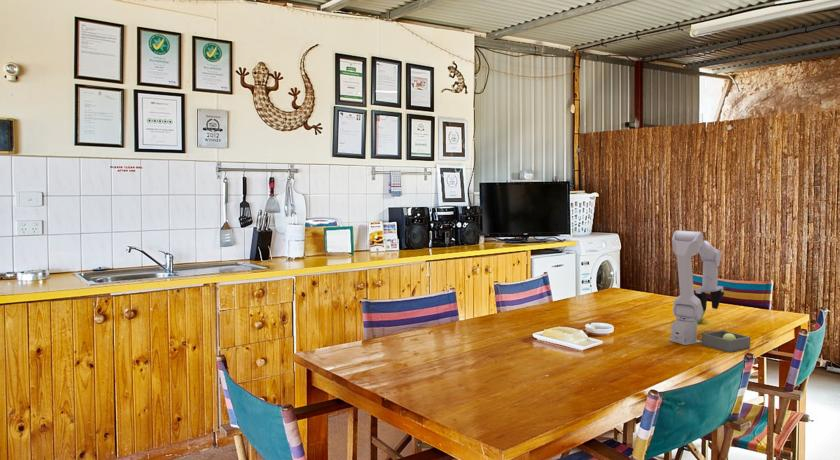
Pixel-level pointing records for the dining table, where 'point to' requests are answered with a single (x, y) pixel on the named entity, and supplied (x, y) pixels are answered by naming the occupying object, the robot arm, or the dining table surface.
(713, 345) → the tub
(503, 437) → the dining table surface
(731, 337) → the lime
